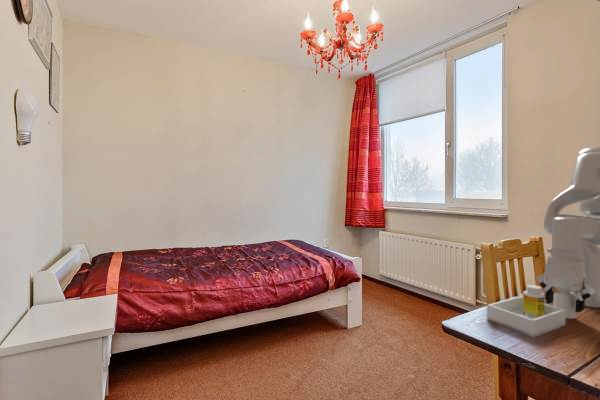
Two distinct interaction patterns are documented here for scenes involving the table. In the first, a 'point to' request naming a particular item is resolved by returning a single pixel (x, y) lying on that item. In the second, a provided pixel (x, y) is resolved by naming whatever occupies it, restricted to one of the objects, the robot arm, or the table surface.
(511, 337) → the table surface
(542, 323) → the box
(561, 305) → the eye dropper bottle
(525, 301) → the supplement bottle
